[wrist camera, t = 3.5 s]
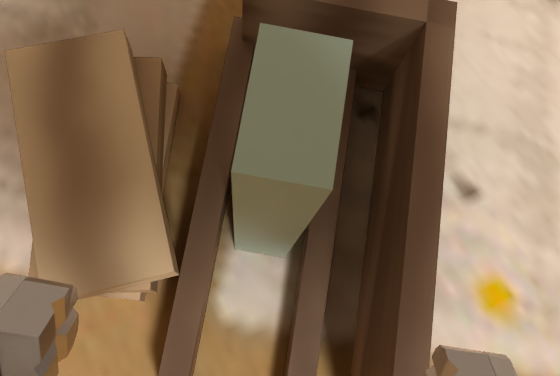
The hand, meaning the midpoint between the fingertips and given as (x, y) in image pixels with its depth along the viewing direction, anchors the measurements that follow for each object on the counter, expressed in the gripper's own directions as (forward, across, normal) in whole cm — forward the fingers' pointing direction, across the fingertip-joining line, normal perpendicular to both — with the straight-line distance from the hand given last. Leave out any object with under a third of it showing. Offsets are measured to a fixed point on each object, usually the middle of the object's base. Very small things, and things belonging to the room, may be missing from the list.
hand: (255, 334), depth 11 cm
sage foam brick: (+18, 0, +8) cm, 19 cm away
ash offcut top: (+15, +9, +6) cm, 18 cm away
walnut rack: (+18, -2, +8) cm, 20 cm away
